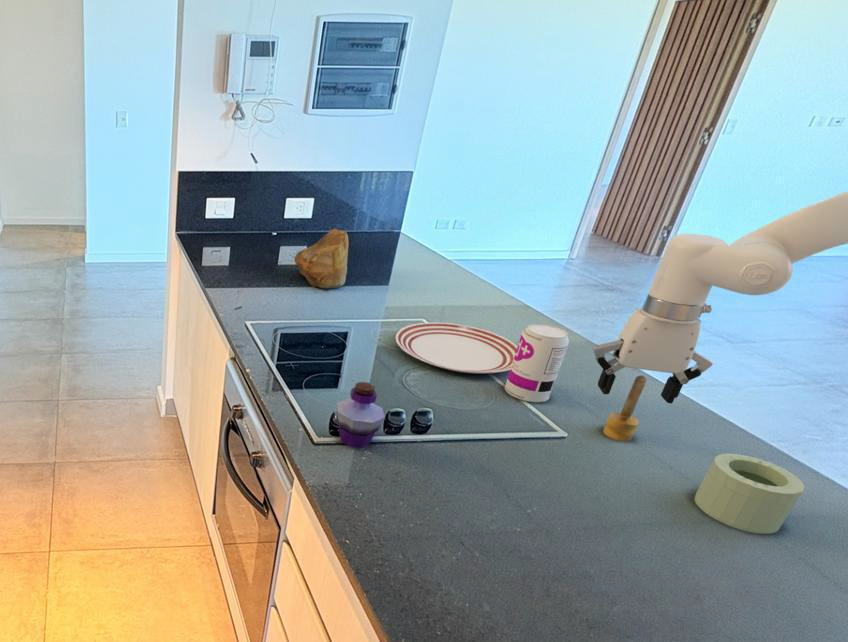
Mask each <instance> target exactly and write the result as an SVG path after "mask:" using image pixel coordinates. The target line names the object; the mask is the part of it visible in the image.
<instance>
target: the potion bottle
mask: <svg viewBox="0 0 848 642" xmlns="http://www.w3.org/2000/svg"><path fill="white" fill-rule="evenodd" d="M349 395H350V398H346V399H344V400H341V401H338V402H337V403H336V414H337V416H336V417H337V422H338V428H339V429H338V430H339V439H340V442H341V443H343V444H344V445H346V446H348V447H350V448H359V449H363V448H365V447H366V446H368V445H370V443H371V442H372V439H373V438H374V436H375V434H376V432H379V429H380V428H381V426H382V424H383V422H384V420H385V418H386V416H385V413H384V410H383V407H381V406H379V405H377V404H376V401H377V396H378V395H377V392H376V390H375V386H374V385H373V384H371V383H370V382H366V381H358V382H356V383H355V385H354V387H353V388H351V390H350V394H349Z"/></svg>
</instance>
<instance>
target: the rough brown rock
mask: <svg viewBox="0 0 848 642" xmlns="http://www.w3.org/2000/svg"><path fill="white" fill-rule="evenodd" d="M349 245H350V244H349V235H348V232H347V231H345V230H340V229H338V228H332V229H331V230H330V231H329V232H326V234H324V235H323V236H322V238H320V239H319V240H318V241H317V242H315V243H314V244H313V245H311V246H308V247H306V248H303V249H301V250H299V251H298V252H297V253H296V255H295V256H294V263H295V264H296V267H297V268H298V270H299V274H301V275H302V276H304V277H305V279H306V281H307V282H308V283H309V285H311V286H312V287H313V288H316V287H319V288H320V289H325V290H326V289H338V288H340V287H342V286H344V285H345V284H346V280H347V274H348V258H349V256H348V255H349Z"/></svg>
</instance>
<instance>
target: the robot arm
mask: <svg viewBox="0 0 848 642" xmlns="http://www.w3.org/2000/svg"><path fill="white" fill-rule="evenodd" d="M847 244H848V190H846V191H843V192H841V193H838V194H836V195H833V196H832V197H829V198H827V199H824V200H821V201H818V202H816V203H812V204H811V205H808V206H805V207H803V208H800V209H798V210H796V211H792V212H791V213H789V214H786V215H784V216H782V217H780V218H778V219H775V220H773V221H772V222H769V223H767V224H764V225H762V226H761V227H759V228H757V229H755V230H752V231H750V232H749V233H747V234H745V235H742V236H740V237H739V238H737V239H736V240H734V241H733V242H732V243H730V244H728V243H727V242H726V241H725V240H724V239H722V238H719V237H716V236H713V235H707V234H700V233H679V234H676V235H674V236H673V237H672V238H671V239H669V241H668V242H667V245H666V247H665V250H664V252H663V254H662V257H661V260H660V262H659V265H658V267H657V270H656V273H655V275H654V277H653V279H652V282H651V285H650V288H649V289H648V292H647V295H646V297H645V299H644V302H643V304H642V307H641V308H635V309H634V311H633V312H632V313H631V314H630V315H629V317H628V319H627V321H626V322H625V323H624V325H623V327H622V329H621V331H620V332H619V335H618V337H617V338H616V340H614V341H609V342H606V343H602V344H597V345H594V346H593V347H592V351H593V354H594V358H595V361H596V362H597V363H598V365H599V366H600V367H601V369H602V370H601V373H600V376H599V379H598V381H597V386H598V388H599V390H600V391H601V392H602V394H603V395H610V393H611V390H612V388H613V385H614V383H615V380H616V374H615V373H616V372H618V371H620V370H622V369H623V368H630V369H637V370H643V371H651V372H659V373H668V374H672V375H669V377H667V380H666V382H665V384H664V386H663V389H662V390H661V392H660V396H661V398H662V399H663V400H664V401H665V402H666V403H667V404H670V405H672V404H673V403H674V400H675V399H677V398H678V397H679V395H680V392H681V390H682V389H683V386H684V385H687V384H688V383H690V381H692V380H695V379H696V378H699V377H700V376H702V373H704V372H706V371H707V370H708V369H710V368H711V367H712V366H713V362H712V361H711V360H709V359H708V358H706V357H705V356H704V355H702V354H700V353H699V352H697V351H695V350H696V347H697V344H698V340H699V336H700V330H701V322H702V320H701V319H700V318H701V316H702V314H710V313H711V312H712V310H713V305H711V304H707V303H706V301H707V299H708V297H709V294H710V292H711V291H712V290H711V289H712V288H713V287H715V288H718V289H719V288H720V289H723V290H726V291H729V292H734V293H737V294H740V295H741V294H742V295H746V296H763V295H768V294H773V293H774V292H777V291H779V290H781V289H782V288H783V287H784V286H786V285H787V284H788V283H789V282H790V279H791V278H792V275H793V264H795V263H797V262H799V261H802V260H804V259H807V258H809V257H811V256H814V255H817V254H819V253H822V252H824V251H827V250H830V249H833V248H836V247H840V246H844V245H847ZM607 353H611V356H613V357H611V358H610V359H606V356H605V355H606V354H607ZM691 361H694V362H695V364H694V366H691V367H689V364H690V363H691ZM688 367H689V368H688Z"/></svg>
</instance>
